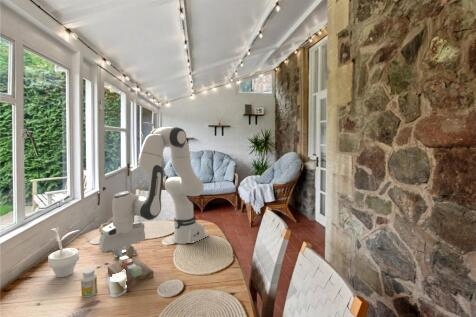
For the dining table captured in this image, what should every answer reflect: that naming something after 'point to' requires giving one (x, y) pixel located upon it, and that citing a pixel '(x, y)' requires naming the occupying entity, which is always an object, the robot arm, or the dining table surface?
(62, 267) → the potted plant
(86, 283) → the supplement bottle
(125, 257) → the key ivory
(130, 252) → the ceramic mug
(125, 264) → the key brick
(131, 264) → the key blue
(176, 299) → the dining table surface
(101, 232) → the character mug
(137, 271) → the key sage
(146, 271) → the key panel
